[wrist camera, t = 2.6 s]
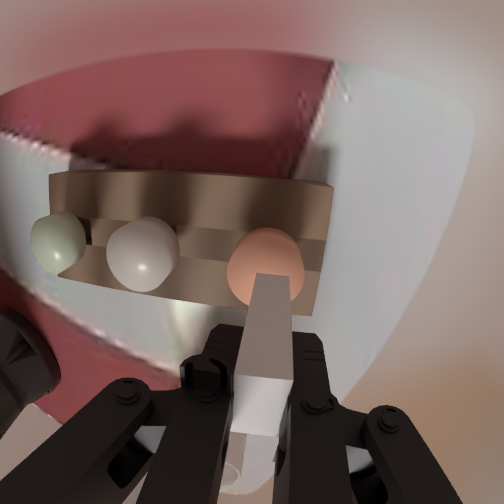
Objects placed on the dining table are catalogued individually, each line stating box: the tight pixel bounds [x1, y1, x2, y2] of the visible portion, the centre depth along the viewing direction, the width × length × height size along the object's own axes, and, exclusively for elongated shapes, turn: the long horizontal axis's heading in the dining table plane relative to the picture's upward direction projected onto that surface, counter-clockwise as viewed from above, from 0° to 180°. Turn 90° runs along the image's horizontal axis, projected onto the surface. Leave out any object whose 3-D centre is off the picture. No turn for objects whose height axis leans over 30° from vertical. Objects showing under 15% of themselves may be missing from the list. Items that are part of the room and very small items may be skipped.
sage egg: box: [31, 211, 86, 274], centre depth 19 cm, size 4×4×4 cm
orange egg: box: [227, 228, 305, 306], centre depth 18 cm, size 4×4×4 cm
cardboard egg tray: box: [49, 170, 334, 316], centre depth 22 cm, size 24×10×3 cm, turn 85°
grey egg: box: [106, 216, 180, 292], centre depth 18 cm, size 4×4×4 cm
